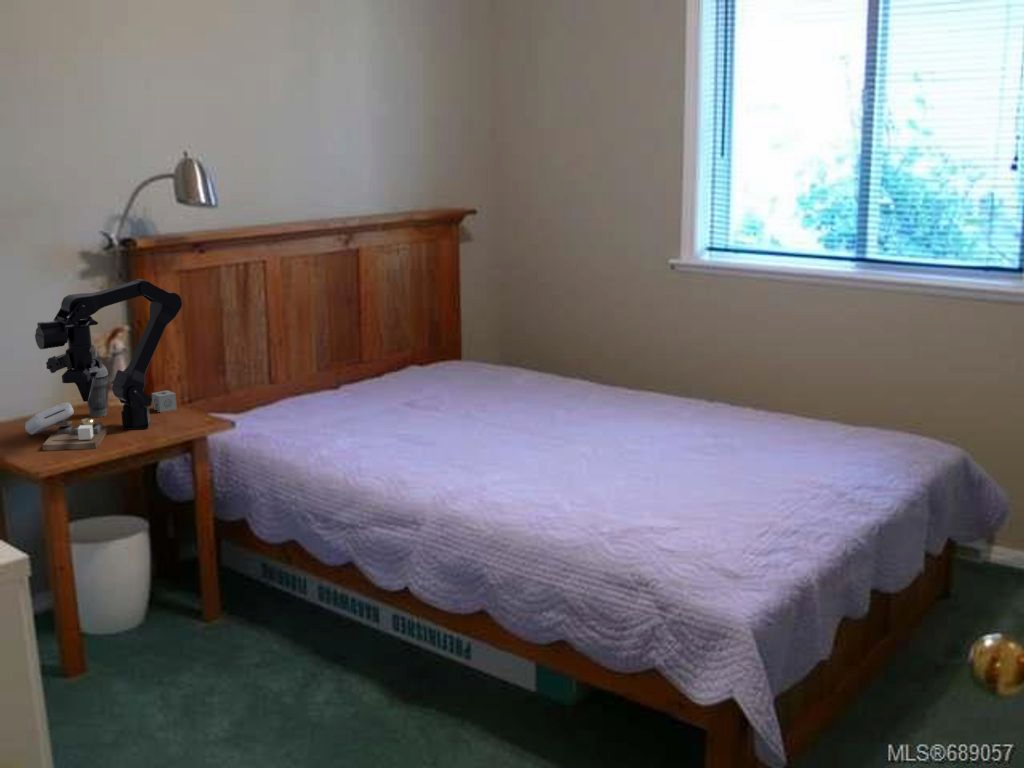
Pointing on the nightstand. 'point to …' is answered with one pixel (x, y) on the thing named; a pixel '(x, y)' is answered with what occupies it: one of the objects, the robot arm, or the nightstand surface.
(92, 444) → the control panel
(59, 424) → the rocker switch
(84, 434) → the slider knob
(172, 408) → the dice cube
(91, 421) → the brass button
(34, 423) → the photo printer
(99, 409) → the beverage cup
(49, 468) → the nightstand surface
